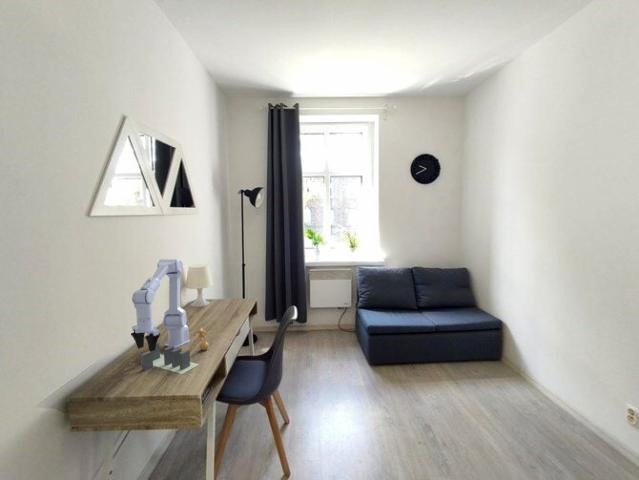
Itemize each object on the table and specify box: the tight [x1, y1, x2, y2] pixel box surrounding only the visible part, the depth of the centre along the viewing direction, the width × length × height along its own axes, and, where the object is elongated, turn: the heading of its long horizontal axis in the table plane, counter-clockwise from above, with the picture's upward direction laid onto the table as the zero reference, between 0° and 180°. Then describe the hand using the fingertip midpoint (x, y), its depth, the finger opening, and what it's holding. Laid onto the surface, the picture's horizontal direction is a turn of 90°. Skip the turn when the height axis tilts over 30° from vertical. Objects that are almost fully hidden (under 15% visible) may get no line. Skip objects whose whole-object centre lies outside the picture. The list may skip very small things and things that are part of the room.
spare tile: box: [140, 350, 154, 371], centre depth 132 cm, size 2×4×7 cm, turn 154°
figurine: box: [193, 327, 211, 351], centre depth 149 cm, size 8×6×12 cm
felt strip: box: [153, 353, 199, 375], centre depth 137 cm, size 9×26×1 cm, turn 64°
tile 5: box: [179, 349, 191, 370], centre depth 132 cm, size 2×4×7 cm, turn 154°
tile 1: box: [152, 342, 161, 361], centre depth 141 cm, size 2×4×7 cm, turn 154°
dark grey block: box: [171, 347, 183, 368], centre depth 134 cm, size 2×4×7 cm, turn 154°
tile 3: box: [163, 346, 175, 365], centre depth 136 cm, size 2×4×7 cm, turn 154°
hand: (146, 349), depth 132 cm, fingers open, 7 cm apart
